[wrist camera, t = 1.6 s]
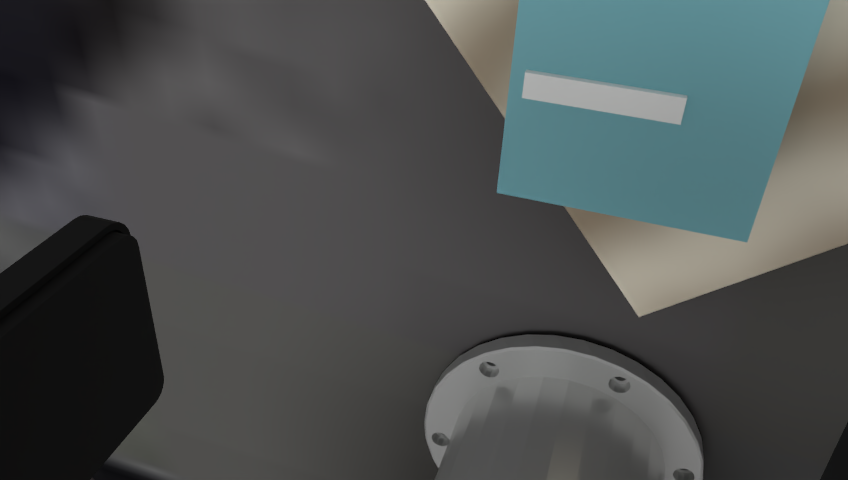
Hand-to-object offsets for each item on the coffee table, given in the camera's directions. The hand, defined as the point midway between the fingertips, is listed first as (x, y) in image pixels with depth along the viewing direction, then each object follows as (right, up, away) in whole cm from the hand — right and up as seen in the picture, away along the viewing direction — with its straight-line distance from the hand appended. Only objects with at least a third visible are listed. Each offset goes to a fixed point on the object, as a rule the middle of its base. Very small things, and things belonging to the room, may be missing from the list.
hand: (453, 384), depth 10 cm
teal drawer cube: (+7, +8, +13) cm, 17 cm away
